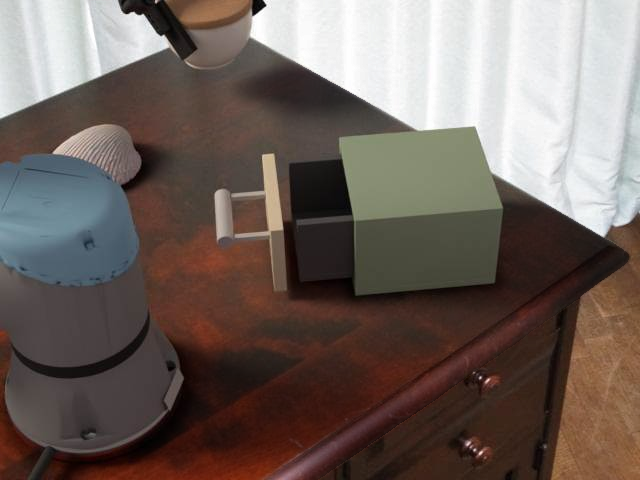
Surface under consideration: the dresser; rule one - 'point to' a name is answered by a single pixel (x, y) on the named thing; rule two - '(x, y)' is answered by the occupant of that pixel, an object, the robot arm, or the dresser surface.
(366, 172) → the cabinet
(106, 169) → the seashell
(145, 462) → the dresser surface
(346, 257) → the drawer
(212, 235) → the dresser surface
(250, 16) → the trinket box
